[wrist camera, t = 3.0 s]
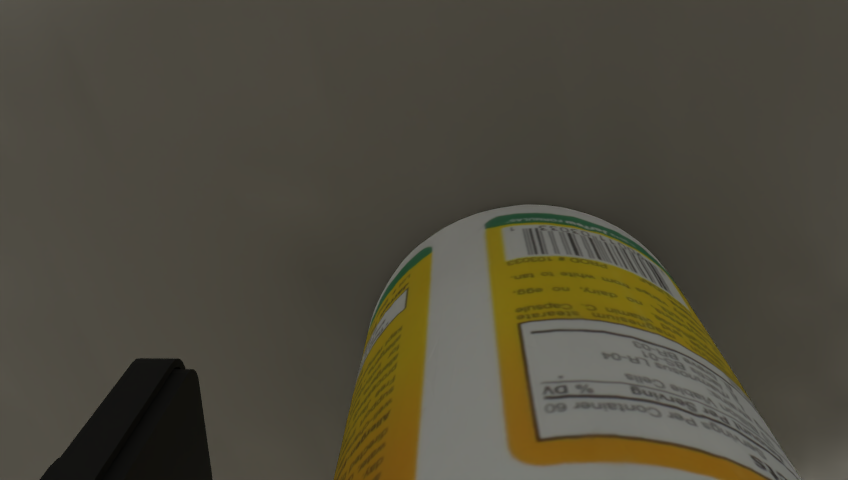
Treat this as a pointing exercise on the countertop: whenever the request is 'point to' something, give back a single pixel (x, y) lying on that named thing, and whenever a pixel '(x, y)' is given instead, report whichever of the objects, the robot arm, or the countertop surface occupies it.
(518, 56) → the countertop surface
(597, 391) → the supplement bottle
